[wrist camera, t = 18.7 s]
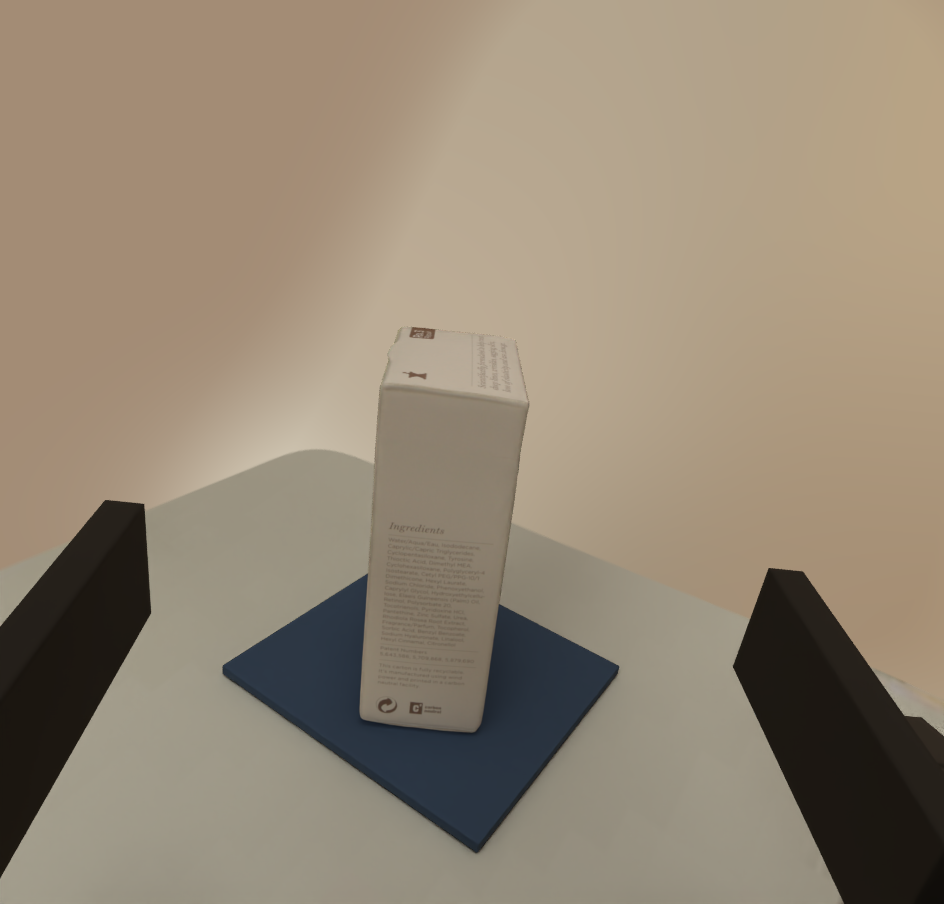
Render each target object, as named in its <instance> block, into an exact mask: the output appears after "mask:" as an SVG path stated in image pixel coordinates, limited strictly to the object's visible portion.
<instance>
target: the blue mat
mask: <svg viewBox="0 0 944 904" xmlns="http://www.w3.org/2000/svg"><path fill="white" fill-rule="evenodd" d="M367 581H368V574H366V575H365V576H363V577H361V578H360V579H358V580H357V581H355V582H354V583H352V584H350V585H349V586H347V587H346V588H344V589H343V590H341V591H339V592H338V593H336V594H335V595H333V596H332V597H330V598H328V599H327V600H325V601H324V602H322V603H320V604H319V605H317V606H316V607H314V608H313V609H311V610H309V611H308V612H306V613H305V614H303V615H302V616H300V617H298V618H297V619H295V620H294V621H292V622H291V623H289V624H287V625H286V626H284V627H283V628H281V629H280V630H278V631H276V632H275V633H273V634H272V635H270V636H268V637H267V638H265V639H264V640H262V641H261V642H259V643H257V644H256V645H254V646H253V647H251V648H250V649H248V650H246V651H245V652H243V653H242V654H240V655H239V656H237V657H235V658H234V659H232V660H231V661H229V662H228V663H226V664H224V665H223V674H224V675H225V676H227V677H228V678H230V679H231V680H232V681H234V682H235V683H237V684H238V685H240V686H241V687H242V688H244V689H245V690H247V691H248V692H250V693H251V694H252V695H254V696H255V697H257V698H258V699H259V700H261V701H262V702H264V703H265V704H267V705H268V706H269V707H271V708H272V709H274V710H275V711H276V712H278V713H279V714H281V715H282V716H284V717H285V718H286V719H288V720H289V721H291V722H292V723H293V724H295V725H296V726H298V727H299V728H301V729H302V730H303V731H305V732H306V733H308V734H309V735H310V736H312V737H313V738H315V739H316V740H318V741H319V742H320V743H322V744H323V745H325V746H326V747H328V748H329V749H330V750H332V751H333V752H335V753H336V754H337V755H339V756H340V757H342V758H343V759H345V760H346V761H347V762H349V763H350V764H352V765H353V766H354V767H356V768H357V769H359V770H360V771H362V772H363V773H364V774H366V775H367V776H369V777H370V778H371V779H373V780H374V781H376V782H377V783H379V784H380V785H381V786H383V787H384V788H386V789H387V790H388V791H390V792H391V793H393V794H394V795H396V796H397V797H398V798H400V799H401V800H403V801H404V802H406V803H407V804H408V805H410V806H411V807H413V808H414V809H415V810H417V811H418V812H420V813H421V814H423V815H424V816H425V817H427V818H428V819H430V820H431V821H432V822H434V823H435V824H437V825H438V826H440V827H441V828H442V829H444V830H445V831H447V832H448V833H449V834H451V835H452V836H454V837H455V838H457V839H458V840H459V841H461V842H462V843H464V844H465V845H466V846H468V847H469V848H471V849H472V850H474V851H475V852H478V851H479V850H480V849H481V847H482V846H483V845H484V844H485V842H486V841H487V840H488V838H489V837H490V836H491V835H492V833H493V832H494V831H495V830H496V828H497V827H498V826H499V824H500V823H501V822H502V821H503V819H504V818H505V817H506V815H507V814H508V813H509V812H510V810H511V809H512V808H513V807H514V805H515V804H516V803H517V801H518V800H519V799H520V798H521V796H522V795H523V794H524V792H525V791H526V790H527V789H528V787H529V786H530V785H531V784H532V782H533V781H534V780H535V778H536V777H537V776H538V775H539V773H540V772H541V771H542V769H543V768H544V767H545V766H546V764H547V763H548V762H549V760H550V759H551V758H552V757H553V755H554V754H555V753H556V752H557V750H558V749H559V748H560V746H561V745H562V744H563V743H564V741H565V740H566V739H567V737H568V736H569V735H570V734H571V732H572V731H573V730H574V729H575V727H576V726H577V725H578V723H579V722H580V721H581V720H582V718H583V717H584V716H585V714H586V713H587V712H588V711H589V709H590V708H591V707H592V705H593V704H594V703H595V702H596V700H597V699H598V698H599V697H600V695H601V694H602V693H603V691H604V690H605V689H606V688H607V686H608V685H609V684H610V682H611V681H612V680H613V679H614V677H615V676H616V675H617V674H618V670H619V666H618V665H616V664H614V663H612V662H610V661H608V660H606V659H604V658H602V657H601V656H599V655H597V654H595V653H593V652H591V651H589V650H587V649H585V648H583V647H581V646H579V645H577V644H575V643H573V642H571V641H570V640H568V639H566V638H564V637H562V636H560V635H558V634H556V633H554V632H552V631H550V630H548V629H546V628H544V627H542V626H540V625H539V624H537V623H535V622H533V621H531V620H529V619H527V618H525V617H523V616H521V615H519V614H517V613H515V612H513V611H511V610H509V609H508V608H506V607H504V606H502V605H500V604H499V607H498V614H497V620H496V627H495V634H494V640H493V647H492V654H491V661H490V669H489V676H488V683H487V690H486V697H485V704H484V710H483V716H482V721H481V725H480V727H479V728H478V729H477V730H476V732H472V733H470V732H456V731H443V730H434V729H425V728H416V727H404V726H397V725H389V724H384V723H378V722H372V721H367V720H363V719H362V718H361V716H360V691H361V675H362V657H363V643H364V628H365V612H366V597H367Z"/></svg>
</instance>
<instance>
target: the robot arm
mask: <svg viewBox="0 0 944 904" xmlns="http://www.w3.org/2000/svg"><path fill="white" fill-rule="evenodd" d="M150 614H151V603H150V588H149V572H148V556H147V540H146V524H145V509H144V504H140V503H130V502H120V501H109V500H105V501H104V502H103V503H102V505H101V506H100V507H99V508H98V510H97V511H96V512H95V513H94V514H93V516H92V517H91V518H90V519H89V520H88V521H87V523H86V524H85V525H84V526H83V528H82V529H81V530H80V531H79V532H78V533H77V535H76V536H75V537H74V538H73V540H72V541H71V542H70V543H69V544H68V546H67V547H66V548H65V549H64V550H63V552H62V553H61V554H60V555H59V556H58V558H57V559H56V560H55V561H54V562H53V564H52V565H51V566H50V567H49V568H48V570H47V571H46V572H45V573H44V574H43V576H42V577H41V578H40V579H39V581H38V582H37V583H36V584H35V585H34V587H33V588H32V589H31V590H30V591H29V593H28V594H27V595H26V596H25V597H24V599H23V600H22V601H21V602H20V603H19V605H18V606H17V607H16V608H15V609H14V611H13V612H12V613H11V614H10V615H9V617H8V618H7V619H6V620H5V621H4V623H3V624H2V625H1V626H0V878H1V876H2V874H3V872H4V871H5V869H6V867H7V865H8V864H9V862H10V860H11V858H12V857H13V855H14V853H15V851H16V850H17V848H18V846H19V844H20V843H21V841H22V839H23V837H24V836H25V834H26V832H27V830H28V829H29V827H30V825H31V823H32V821H33V820H34V818H35V816H36V814H37V813H38V811H39V809H40V807H41V806H42V804H43V802H44V800H45V799H46V797H47V795H48V793H49V792H50V790H51V788H52V786H53V785H54V783H55V781H56V779H57V778H58V776H59V774H60V772H61V771H62V769H63V767H64V765H65V763H66V762H67V760H68V758H69V756H70V755H71V753H72V751H73V749H74V748H75V746H76V744H77V742H78V741H79V739H80V737H81V735H82V734H83V732H84V730H85V728H86V727H87V725H88V723H89V721H90V720H91V718H92V716H93V714H94V713H95V711H96V709H97V707H98V705H99V704H100V702H101V700H102V698H103V697H104V695H105V693H106V691H107V690H108V688H109V686H110V684H111V683H112V681H113V679H114V677H115V676H116V674H117V672H118V670H119V669H120V667H121V665H122V663H123V662H124V660H125V658H126V656H127V655H128V653H129V651H130V649H131V647H132V646H133V644H134V642H135V640H136V639H137V637H138V635H139V633H140V632H141V630H142V628H143V626H144V625H145V623H146V621H147V619H148V618H149V616H150ZM733 668H734V670H735V672H736V674H737V677H738V679H739V681H740V683H741V685H742V687H743V689H744V691H745V694H746V696H747V698H748V700H749V702H750V704H751V706H752V708H753V711H754V713H755V715H756V717H757V719H758V721H759V723H760V725H761V728H762V730H763V732H764V734H765V736H766V738H767V740H768V742H769V745H770V747H771V749H772V751H773V753H774V755H775V757H776V759H777V762H778V764H779V766H780V768H781V770H782V772H783V774H784V777H785V779H786V781H787V783H788V785H789V787H790V789H791V791H792V794H793V796H794V798H795V800H796V802H797V804H798V806H799V808H800V811H801V813H802V815H803V817H804V819H805V821H806V823H807V825H808V828H809V830H810V832H811V834H812V836H813V838H814V840H815V842H816V845H817V847H818V849H819V851H820V853H821V855H822V857H823V859H824V862H825V864H826V866H827V868H828V870H829V872H830V874H831V877H832V879H833V881H834V883H835V885H836V887H837V889H838V891H839V894H840V896H841V898H842V900H843V902H844V904H944V736H943V735H942V734H940V733H939V732H938V731H937V730H936V729H935V728H933V727H932V726H931V725H930V724H929V723H927V722H926V721H925V720H924V719H923V718H921V717H910V716H904V715H903V713H902V712H901V711H900V709H899V708H898V706H897V705H896V703H895V702H894V701H893V699H892V698H891V696H890V695H889V693H888V692H887V691H886V689H885V688H884V686H883V685H882V683H881V682H880V681H879V679H878V678H877V676H876V675H875V673H874V672H873V671H872V669H871V668H870V666H869V665H868V664H867V662H866V661H865V659H864V658H863V656H862V655H861V654H860V652H859V651H858V649H857V648H856V646H855V645H854V644H853V642H852V641H851V639H850V638H849V637H848V635H847V634H846V632H845V631H844V629H843V628H842V626H841V625H840V624H839V622H838V621H837V619H836V618H835V617H834V615H833V614H832V612H831V611H830V609H829V608H828V607H827V605H826V604H825V602H824V601H823V599H822V598H821V597H820V595H819V594H818V592H817V591H816V589H815V588H814V587H813V585H812V584H811V582H810V581H809V579H808V578H807V577H806V575H805V574H804V572H802V571H793V570H782V569H773V568H769V569H768V572H767V574H766V577H765V580H764V583H763V586H762V588H761V591H760V594H759V596H758V599H757V602H756V605H755V607H754V610H753V613H752V616H751V618H750V621H749V624H748V626H747V629H746V632H745V635H744V637H743V640H742V643H741V646H740V648H739V651H738V654H737V657H736V659H735V662H734V665H733Z"/></svg>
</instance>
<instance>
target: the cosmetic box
mask: <svg viewBox="0 0 944 904" xmlns="http://www.w3.org/2000/svg"><path fill="white" fill-rule="evenodd" d="M528 408H529V401H528V396H527V391H526V387H525V382H524V378H523V373H522V368H521V364H520V359H519V355H518V349H517V345H516V340H514V339H511V338H506V337H501V336H494V335H484V334H475V333H463V332H454V331H444V330H437V329H426V328H416V327H401V328H400V329H399V330H398V333H397V337H396V339H395V342H394V344H393V345H392V346H391V347H390V349H389V352H388V363H387V366H386V369H385V373H384V376H383V379H382V382H381V385H380V392H379V403H378V416H377V433H376V447H375V465H374V486H373V503H372V521H371V536H370V552H369V567H368V581H367V597H366V612H365V628H364V643H363V657H362V675H361V691H360V716H361V718H362V719H363V720H367V721H372V722H378V723H384V724H389V725H397V726H404V727H416V728H425V729H434V730H443V731H456V732H470V733H472V732H476V730H477V729H478V728H479V727H480V725H481V721H482V716H483V710H484V704H485V697H486V690H487V683H488V676H489V669H490V661H491V654H492V647H493V640H494V634H495V627H496V620H497V614H498V607H499V601H500V595H501V588H502V581H503V574H504V567H505V560H506V554H507V547H508V541H509V534H510V527H511V520H512V513H513V506H514V500H515V491H516V484H517V475H518V470H519V461H520V452H521V446H522V440H523V435H524V429H525V424H526V418H527V413H528Z"/></svg>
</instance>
